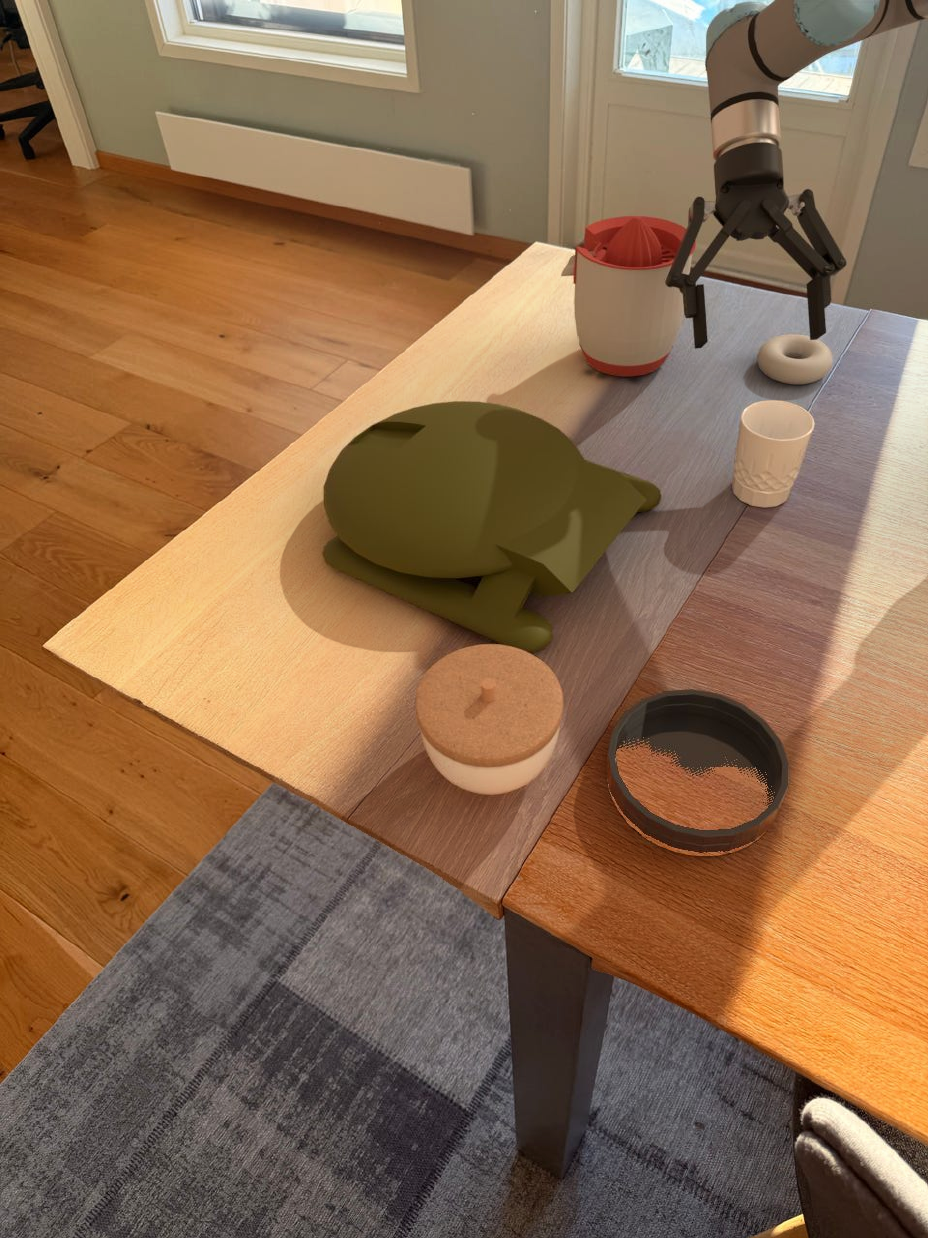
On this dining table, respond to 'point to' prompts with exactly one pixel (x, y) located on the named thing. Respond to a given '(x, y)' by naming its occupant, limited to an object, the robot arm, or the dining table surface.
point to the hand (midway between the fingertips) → (759, 341)
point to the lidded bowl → (489, 717)
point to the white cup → (770, 451)
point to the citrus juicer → (627, 293)
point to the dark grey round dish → (700, 759)
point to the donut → (794, 359)
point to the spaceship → (475, 514)
